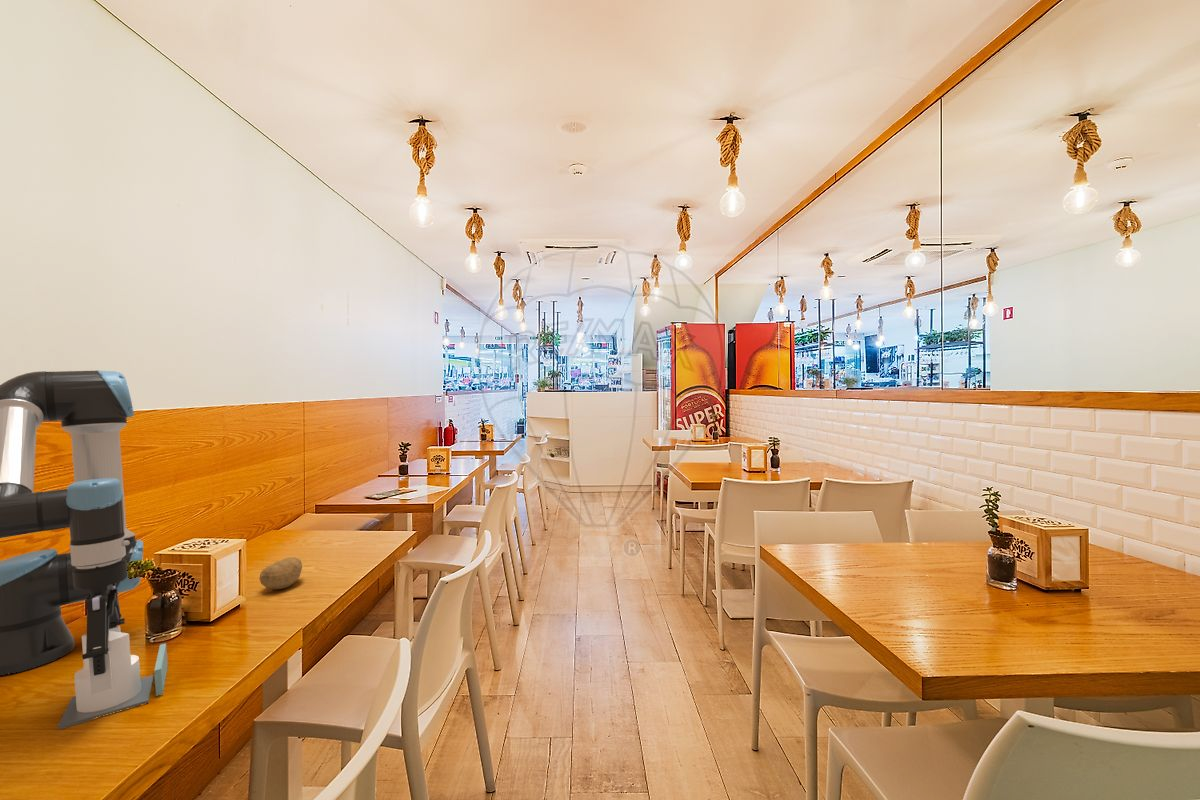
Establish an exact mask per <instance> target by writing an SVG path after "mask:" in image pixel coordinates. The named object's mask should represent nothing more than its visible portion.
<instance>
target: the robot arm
mask: <svg viewBox="0 0 1200 800" xmlns="http://www.w3.org/2000/svg"><path fill="white" fill-rule="evenodd" d="M127 382H128V381H127V380H126V377H125V376H124V374H123V373H121V372H120V371H116V370H115V371H111V370H99V369H97V370H69V371H68V370H66V371H63V370H62V371H58V370H57V371H44V370H43V371H32V372H28V373H27V372H26V373H24V374H21V375H18V376H15V377H12V378H10V379H8V380H6V381H5V382H3V383H1V384H0V539H3V538H9V537H15V536H22V535H27V534H34V533H39V532H49V531H54V530H61V529H68V528H69V537H70V542H69V543H70V544H69V552H66V553H59V552H58V551H57V549H55V548H47V549H40V550H36V551H35V550H34V551H30V552H27V553H26V552H25V553H23V554H19V555H16V556H13V557H9V558H5V559H3V560H1V561H0V675H3V676H5V675H4V674H8V673H13V674H17V673H22V672H24V671H28V669H29V670H31V668H32V669H35V668H38V667H41V666H44V665H46V664H45V663H47V664H50V663H52V662H54V661H56V659H57V658H59V657H61V656H63V655H65V654H67V653H68V654H70V653H71V652H72V651H74V649H75V639H74V635H73V634H72V632H71V631H70V629H69V628H68V625H67V624H66V622H65V620H64V619H63V616H62V608H61V607H62V606H66V605H70V604H75V603H80V602H83V601H84V602H85V605H86V634H87V639H86V654H83V653H82V660H83V659H87V658H89V669H90V683H91V694H93V693H97V692H100V691H104V690H108V689H111V688H112V673H111V659H110V651H109V648H108V640H109V631H116V632H122V631H121V625H125V624H126V619H125V617H124V618H122V613H121V607H120V603H119V596H118V595H119V594H120V593H124V592H128V591H131V590H133V589H135V588H137V587H138V585H139V584H140V582H141V577H136V578H132V579H129V578H128V571H127V563H129V562H131V561H137V560H142V561H143V557H144V541H142V540H141V539H136V533H134V532H133V531H131V530H129V529H128V528H127V522H126V521H127V519H126V517H127V516H126V505H125V503H126V502H125V490H124V476H123V463H122V452H121V451H122V450H121V449H122V448H121V447H122V446H121V437H120V436H121V435H120V432H121V431H122V430H123V429H124V428H125V427H126V426H127V425H128V422H127V418H128V419H129V418H132V417H134V416H135V415H134V414H135V412H134V407H133V403H132V402H133V401H132V398H131V393H130V391H129V385H128V384H127ZM43 422H61V429H62V431H65V432H66V433H68V434H69V435H70V436H71V437H70V438H71V449H72V451H71V452H72V453H71V454H72V464H73V479H74V482H72V483H70V484H69V485H68V486H67V488H63V489H54V490H45V491H37V492H34V490H35V489H34V488H35V487H34V486H35V469H36V468H35V467H36V463H35V462H36V445H37V442H36V441H37V429H38V428H39V427H40V426H41V425H42V423H43ZM96 647H101V648H97V649H94V648H96ZM73 648H74V649H73ZM71 650H72V651H71ZM70 651H71V652H70ZM69 652H70V653H69ZM68 654H67V655H68ZM65 656H66V655H65ZM63 657H64V656H63ZM61 658H62V657H61ZM59 659H60V658H59ZM57 660H58V659H57ZM51 661H52V662H51ZM49 662H50V663H49ZM43 664H44V665H43ZM40 665H41V666H40ZM37 666H38V667H37ZM16 672H17V673H16ZM8 675H9V674H8Z"/></svg>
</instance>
